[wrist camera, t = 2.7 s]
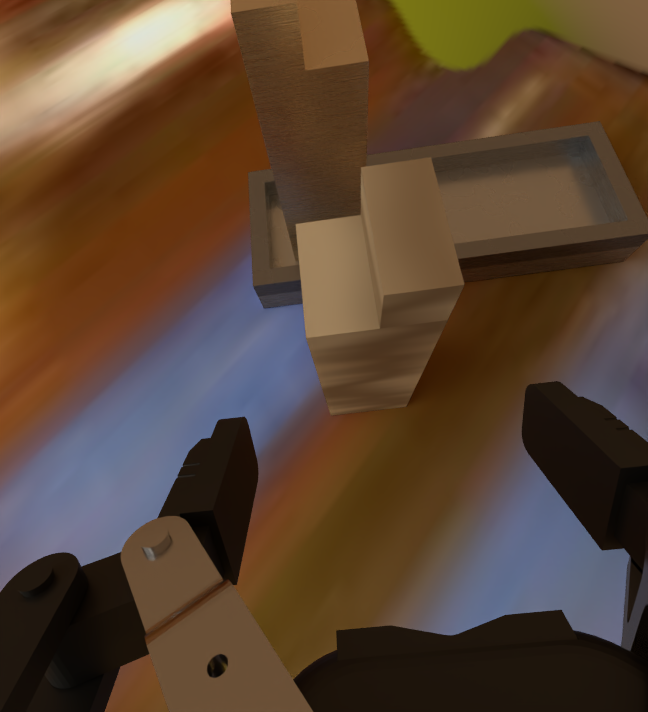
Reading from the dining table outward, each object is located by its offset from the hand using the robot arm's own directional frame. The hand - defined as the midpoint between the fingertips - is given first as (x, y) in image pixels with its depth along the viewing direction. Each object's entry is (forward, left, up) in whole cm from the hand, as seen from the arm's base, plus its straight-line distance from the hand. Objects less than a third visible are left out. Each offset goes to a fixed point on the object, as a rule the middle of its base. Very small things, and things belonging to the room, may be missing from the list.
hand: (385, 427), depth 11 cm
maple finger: (-4, +2, -10) cm, 11 cm away
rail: (-10, +11, -10) cm, 18 cm away
